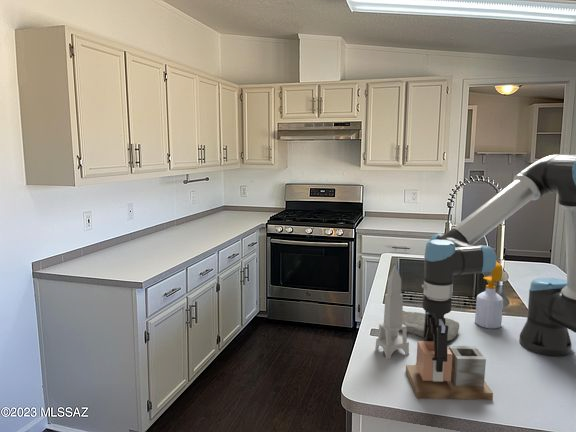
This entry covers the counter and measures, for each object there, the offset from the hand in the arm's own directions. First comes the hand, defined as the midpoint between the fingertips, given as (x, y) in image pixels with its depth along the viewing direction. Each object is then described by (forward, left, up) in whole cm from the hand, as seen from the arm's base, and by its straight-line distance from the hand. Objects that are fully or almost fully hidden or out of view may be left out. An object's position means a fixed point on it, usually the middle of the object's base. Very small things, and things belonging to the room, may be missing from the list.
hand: (433, 372), depth 124 cm
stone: (-5, -36, -4) cm, 37 cm away
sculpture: (+8, -19, -4) cm, 21 cm away
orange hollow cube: (0, 0, 0) cm, 0 cm away
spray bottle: (-32, -42, -4) cm, 53 cm away
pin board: (-4, 0, -4) cm, 5 cm away
